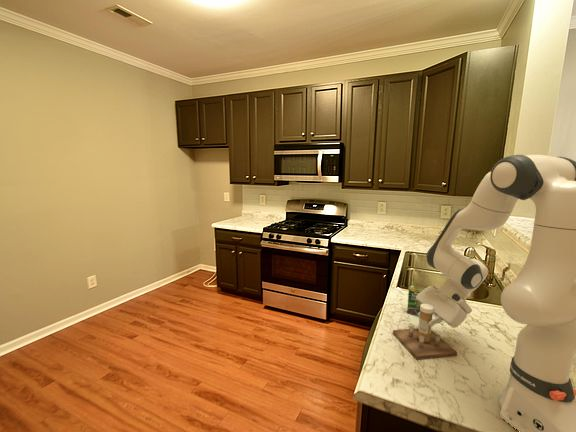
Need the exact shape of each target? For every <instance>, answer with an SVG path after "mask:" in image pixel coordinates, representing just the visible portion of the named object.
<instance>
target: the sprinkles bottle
mask: <svg viewBox="0 0 576 432" xmlns="http://www.w3.org/2000/svg"><path fill="white" fill-rule="evenodd" d="M433 311H434V308H433V306H431V305H429V304H421V305H420V317H419V316H418V317H419V319H418V327H417V328H418V338H419V336H420V335H422V336H424V342H429V341H430V340H431V339H430V336H431V330H432V327H431V326H430V325H429V324H428V323H427V321H428V320H429V319H430V320H432V319H433V316H434V315H433V314H434V313H433Z"/></svg>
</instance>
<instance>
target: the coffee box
mask: <svg viewBox="0 0 576 432" xmlns="http://www.w3.org/2000/svg"><path fill="white" fill-rule="evenodd" d="M425 288H426V287H419V286H415V285H409V287H408V294H407V296H408V297H407V311H406V313H407V314H409V315H413V316H417V317H419V316H418V315H417V314H418V313H419V312H420V305H421V303H420V302H419V301H418V300H417V299H416V296H417V295H418V294H419V293H420V292H421V291H422V290H424V289H425Z"/></svg>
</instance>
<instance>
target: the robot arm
mask: <svg viewBox="0 0 576 432" xmlns="http://www.w3.org/2000/svg"><path fill="white" fill-rule="evenodd" d="M528 199H530V200H531V201H532V203H534V205H535V216H534V221H533V229H532V237H531V242H530V248H529V251H528V255H527V257H526V260H525V262H524V263H523V265H522V267H521V269H520V271H519V273H518V274H517V275H516V277H515V278H514V280H512V281H511V283H509V284H508V285H507V286H505V287H504V288H503V290H502V291H501V294H500V304H501V308H502V309H503V311H504V312H505V314H506V315H507V316H508V317H509V318H511V320H513V321H514V322H517V323H519V324H523V325H524V327H523V328H522V329H520V331H519V332H518V334H517V338H516V343H515V349H514V356H512V357H511V361H510V365H509V373H510V374H509V378H508V381H507V384H506V386H505V388H504V391H503V392H502V393H501V395H500V396H499V399H498V403H499V406H500V413H499V417H500V418H501V420H503V419H504V420H505V421H504V420H503V421H504V422H505V423H507V424H508V423H509V424H510V425H509V424H508V425H509V426H510V427H512V428H513V427H514V428H515V429H514V428H513V429H514V430H516V429H517V430H518V431H520V432H576V389H574V387H573V383H572V380H571V378H570V377H571V376H570V375H571V372H572V367H573V363H574V360H575V355H576V161H575V160H573V159H572V158H569V157H565V156H564V157H563V156H551V155H546V154H525V155H523V154H514V155H513V154H512V155H509V156H506V157H503V158H501V159H499V160H498V161H497V162H495V164H494V165H493V166H492V168H491V171H489V172H488V173H486V174H485V176H484V177H483V179H481V181H480V183H479V184H478V186H477V188H476V190H475V192H474V194H473V196H472V197H471V200H470V202H469V204H468V205H467V206H466V207H465V208H459V209H458V210H456V211H455V212H454V214H452V216H451V217H450V219H449V220H447V223H446V224H445V226H444V227H443V230H442V231H441V232H440V233H439V235H438V237H437V239H436V240H435V242H434V243H433V244H432V245H431V247H430V248H429V249H428V250H427V252H426V255H425V256H426V257H425V258H426V262H427V265H428V266H429V267H431V268H433V269H434V270H436V271H438V272H440V273H442V275H444V276H446V277H447V278H448V279H446V280H445V281H444V282H443V283H442V284H440V286H439V287H437V286H436V285H434V284H433V285H429V286H427V287H424V288H425V289H424V290H422V291H421V292H420V293H419V294H418V295H417V296H416V299H417V300H418V301H419V302H420V303H421V304H429V305H431V306H433V308H434V311H433V314H434V315H435V317H434V318H432V320H430V319H429V320H428V321H427V323H428V324H429V325H430V326H431V328H432V327H434V326H435V325H437V324H440V323H442V322H445V323H446V324H447V325H448V326H450V328H453V329H455V328H458V327H459V326H460V325H462V323H463V322H464V321H465V320H466V318H467V317H468V315H469V314H471V313H472V312H473V310H472V308H471V306H470V305H469V304H468V303H467V301H466V300H467V298H468V297H469V296H470V294H471V293H472V292H474V291H476V289H478V288H479V287H480V285H482V283H483V282H484V280H485V279H486V278H487V276H488V274H489V269H488V267H487V266H486V265H485V264H484V263H483V262H482V261H481V260H478V259H476V258H469V257H467V256H465V255H464V254H462V253H461V252H458V251H457V250H455V249H454V247H452V244H453V243H454V241H455V239H456V238H457V236H458V235H459V233H460V232H461V231H462V230H473V231H494V230H496V229H499V228H500V227H502V226H504V225H505V224H506V222H507V221H508V219H509V218H510V216H511V214H512V212H513V210H514V208H515V206H516V204H517V202H518V200H521V201H527V200H528ZM417 315H418V316H417ZM417 315H416V316H417V317H420V312H419V313H418V314H417ZM517 430H516V431H517ZM518 431H517V432H518Z"/></svg>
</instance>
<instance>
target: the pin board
mask: <svg viewBox="0 0 576 432" xmlns="http://www.w3.org/2000/svg"><path fill="white" fill-rule="evenodd" d="M408 326H409V327H408V328H404V329H394V330H392V335H393V336H395V338H396V339H397V341H399V342H400V343H401V345H402V346H404V348H405V349H406V350H407V351H408V352H409V353H410V354H411V355H412V356H413V358H414V359H415V360H418V361H420V360H428V359H437V358H448V357H449V358H450V357H457V356H458V351H457V350H456V349H454V347H452V346H451V345H450V344H449V343H447V341H445V340H444V339H443V338H441V334H439V333H436V332H435V331H434V330H432V329H431V336H430V339H431V340H430V341H429V342H424V336H422V335H420V336H419V338H418V328H419V327H417V328H416V327H415V328H414V326H413V325H408Z"/></svg>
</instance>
